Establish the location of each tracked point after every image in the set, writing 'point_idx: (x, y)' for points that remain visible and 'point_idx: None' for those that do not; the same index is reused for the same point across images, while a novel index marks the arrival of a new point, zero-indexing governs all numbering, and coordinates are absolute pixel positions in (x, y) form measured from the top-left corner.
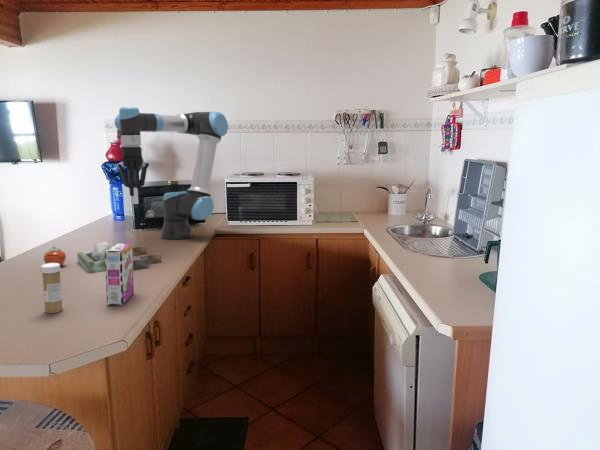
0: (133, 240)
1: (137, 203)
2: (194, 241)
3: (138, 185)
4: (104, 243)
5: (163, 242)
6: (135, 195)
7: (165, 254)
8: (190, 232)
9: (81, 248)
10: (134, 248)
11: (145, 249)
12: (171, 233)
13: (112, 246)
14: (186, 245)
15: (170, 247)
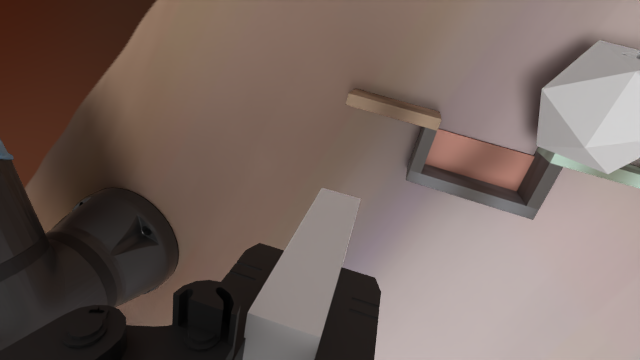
0: None
1: (332, 192)
2: (110, 130)
3: (190, 353)
4: (631, 114)
5: (203, 205)
6: (329, 246)
7: (303, 20)
8: (80, 201)
9: (462, 353)
10: (409, 108)
11: (358, 93)
12: (143, 234)
13: (572, 96)
14: (161, 97)
15: (223, 117)
